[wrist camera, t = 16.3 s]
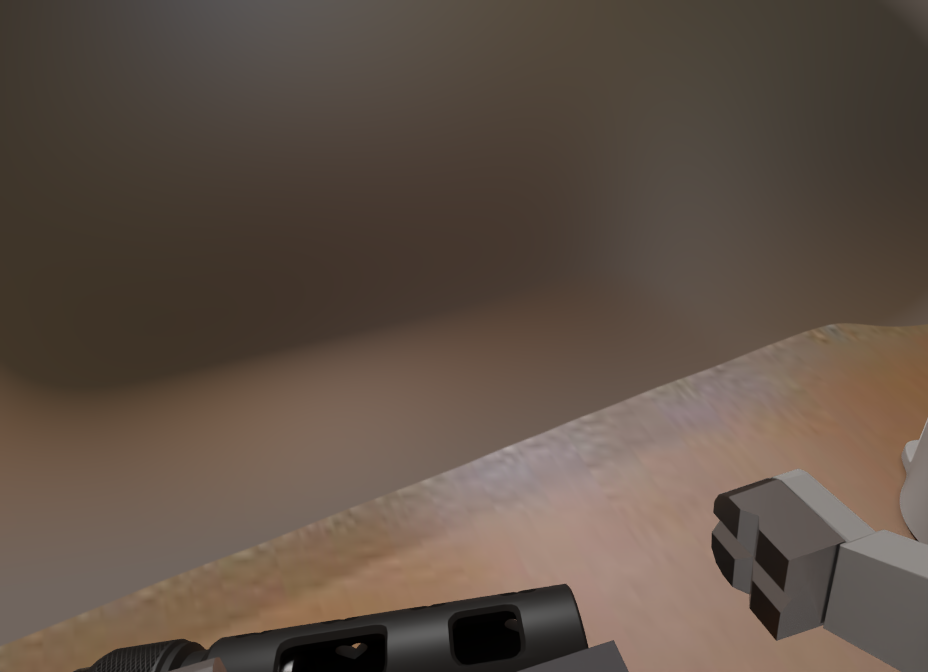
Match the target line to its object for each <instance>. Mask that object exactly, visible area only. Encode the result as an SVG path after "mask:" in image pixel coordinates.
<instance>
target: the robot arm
mask: <svg viewBox="0 0 928 672" xmlns="http://www.w3.org/2000/svg"><path fill="white" fill-rule="evenodd" d="M902 461H903V464H904V467H905V470H906V473H907V477H906V480H905V483H904V485H903V487H902V490H901V493H900V508H901V512H902V515H903V518H904V520H905V522H906V524H907V526H908V527H909V529H910V531H911V532H912V533H913V535H914V536H915V537H916V539H917V540H918V541H919V542H918V541H915V540H912V539H910V538H907V537H904V536H901V535H898V534H895V533H892V532H889V531H887V530H881V531H878V532H876V531H874V530H873V529H872V528H871V527H870V526H869V525H867V524H866V523H865V522H864V521H863V520H862V519H861V518H859V517H858V516H857V515H856V514H855V513H854V512H852V511H851V510H850V509H849V508H848V507H847V506H845V505H844V504H843V503H842V502H841V501H840V500H839V499H837V498H836V497H835V496H834V495H833V494H832V493H830V492H829V491H828V490H827V489H826V488H825V487H824V486H822V485H821V484H820V483H819V482H818V481H817V480H815V479H814V478H813V477H812V476H811V475H810V474H808V473H807V472H806V471H803V470H800V469H796V470H793V471H790V472H787V473H784V474H781V475H777V476H774V477H772V478H767V479H764V480H761V481H758V482H755V483H752V484H749V485H746V486H743V487H740V488H737V489H734V490H731V491H728V492H725V493H722V494H719V495H718V497H717V498H716V500H715V501H714V511H713V513H714V514H715V515H716V516H717V517H718V518H719V520H720V521H719V523H718V524H717V526H716V527H715V528H714V530H713V531H712V546H711V547H712V550H713V554H714V557H715V560H716V563H717V565H718V567H719V569H720V570H721V572H722V574H723V575H724V577H725V578H726V579H727V581H728V582H729V583H730V584H731V586H732V587H734V588H736V589H738V590H741V591H743V592H745V593H747V594H749V606H750V609H751V610H752V612H753V613H754V614H755V615H756V617H757V618H758V619H759V620H760V621H761V623H762V624H763V625H764V626H765V628H766V629H767V630H768V631H769V632H770V634H771V635H772V636H773V637H774V638H775V640H776V641H777V640H780V639H783V638H786V637H789V636H792V635H795V634H798V633H801V632H804V631H807V630H810V629H813V628H816V627H819V626H822V625H824V627H823V628H824V629H826V630H828V631H830V632H832V633H833V634H835V635H837V636H839V637H840V638H842V639H844V640H846V641H848V642H849V643H851V644H853V645H855V646H857V647H858V648H860V649H862V650H864V651H865V652H867V653H869V654H871V655H873V656H874V657H876V658H878V659H880V660H882V661H883V662H885V663H887V664H889V665H890V666H892V667H894V668H896V669H898V670H899V671H901V672H928V419H927V422H926V424H925V426H924V429H923V431H922V434H921V436H920V439H919V440H913V441H910V442H908V443H907V444H906V445H905V448H904V450H903V452H902ZM168 672H227V670H226V668H225V666H224V665H223V663H222V661H221V659H220V657H217V658H212V659H209V660H206V661H202V662H199V663H195V664H192V665H189V666H185V667H182V668H179V669H175V670H172V671H168Z"/></svg>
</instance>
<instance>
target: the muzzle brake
mask: <svg viewBox="0 0 928 672" xmlns="http://www.w3.org/2000/svg"><path fill="white" fill-rule="evenodd" d="M514 619H515V620H514ZM516 620H517V621H516ZM356 643H361V644H360V645H359V646H358V647H357V648H354V647H352V645H354V644H356ZM585 649H588V644H587V639H586V635H585V631H584V627H583V624H582V620H581V616H580V613H579V610H578V606H577V603H576V600H575V598H574V595H573V593H572V590H571V589H570V587H569V586H568V585H567V584H561V585H555V586H549V587H542V588H536V589H530V590H523V591H520V592H517V593H516V592H511V593H504V594H498V595H491V596H485V597H479V598H472V599H466V600H460V601H453V602H447V603H441V604H434V605H431V606H421V607H415V608H409V609H402V610H396V611H389V612H383V613H377V614H370V615H364V616H358V617H351V618H347V619H345V620H340V619H339V620H332V621H326V622H319V623H313V624H307V625H300V626H294V627H288V628H281V629H275V630H269V631H264V632H261V633H249V634H243V635H237V636H230V637H224V638H221V639H219V640H218V641H216V642H215V643H214V644H213V645H212V646H211V647H210V648H209V649H208V650H206V649H205V648H204V647H202V646H201V645H200V644H198V643H196V642H191V641H188V640H186V639H177V640H171V641H164V642H158V643H151V644H145V645H139V646H132V647H126V648H120V649H116V650H114V651H112V652H110V653H108V654H106V655H105V656H103V657H102V658H101V659H99V660H98V661H96V662H95V663H94V664H93V665H92V666H91V667H87V668H81V669H77V670H75V671H73V672H168V671H172V670H175V669H179V668H182V667H185V666H189V665H192V664H195V663H199V662H202V661H206V660H209V659H212V658H217V657H220V659H221V661H222V663H223V665H224V666H225V668H226V670H227V672H517V671H520V670H523V669H527V668H530V667H533V666H536V665H539V664H542V663H545V662H548V661H551V660H554V659H557V658H560V657H563V656H567V655H570V654H573V653H576V652H579V651H582V650H585Z"/></svg>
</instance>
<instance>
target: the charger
mask: <svg viewBox="0 0 928 672" xmlns="http://www.w3.org/2000/svg"><path fill="white" fill-rule="evenodd" d="M517 672H628V670H627V667H626V665H625V663H624V661H623V659H622V657H621V655H620V653H619V651H618V648H617V646H616V644H615V642H614V640H613V641H610V642H607V643H603V644H600V645H597V646H594V647H591V648H588V649H585V650H582V651H579V652H576V653H573V654H570V655H567V656H563V657H560V658H557V659H554V660H551V661H548V662H545V663H542V664H539V665H536V666H533V667H530V668H527V669H523V670H520V671H517Z"/></svg>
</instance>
